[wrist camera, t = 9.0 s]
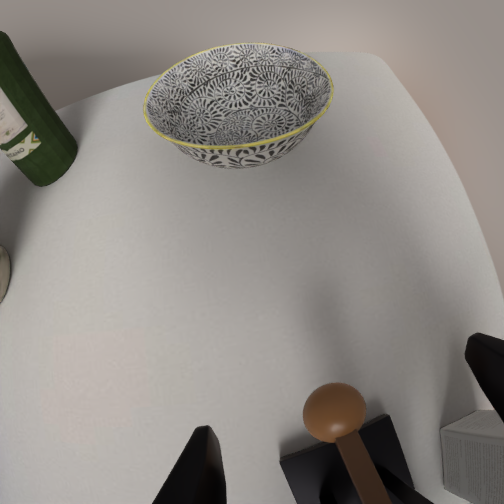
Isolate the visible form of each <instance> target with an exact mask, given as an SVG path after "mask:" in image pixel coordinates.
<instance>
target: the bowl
mask: <svg viewBox="0 0 504 504" xmlns="http://www.w3.org/2000/svg"><path fill="white" fill-rule="evenodd" d="M332 97H333V83H332V80H331V77H330V76H329V74H328V72H327V71H326V70H325V68H324V67H323V66H322V65H321V64H319V63H318V62H317V61H316V60H314V59H313V58H311V57H310V56H308V55H306V54H304V53H302V52H300V51H297V50H294V49H291V48H288V47H284V46H280V45H274V44H267V43H237V44H229V45H223V46H219V47H215V48H211V49H208V50H205V51H201V52H199V53H196V54H194V55H192V56H189V57H187V58H185V59H184V60H181V61H180V62H178V63H177V64H175V65H173V66H172V67H170V68H169V69H168V70H167V71H165V72H164V73H163V74H162V75H161V76H160V77H159V78H158V79H157V80H156V81H155V82H154V84H153V85H152V86H151V88H150V89H149V91H148V93H147V95H146V97H145V101H144V106H143V111H144V117H145V119H146V122H147V123H148V125H149V126H150V127H151V128H152V130H153V131H155V132H156V133H157V134H158V135H160V136H161V137H163V138H165V139H167V140H169V141H170V142H172V143H173V144H174V145H175V146H176V147H177V148H178V149H180V150H181V151H182V152H184V153H185V154H187V155H188V156H190V157H192V158H193V159H195V160H197V161H200V162H202V163H205V164H208V165H211V166H215V167H220V168H230V169H238V168H249V167H255V166H259V165H263V164H266V163H269V162H271V161H274V160H276V159H278V158H280V157H282V156H283V155H285V154H286V153H288V152H289V151H291V150H292V149H293V148H294V147H296V146H297V145H298V144H299V143H300V142H301V141H302V140H303V139H304V137H305V136H306V135H307V134H308V132H309V131H310V129H311V128H312V126H313V125H314V123H315V122H316V121H317V120H318V119H319V118H320V117H321V116H322V115H323V114H324V113H325V111H326V110H327V109H328V107H329V105H330V103H331V100H332Z"/></svg>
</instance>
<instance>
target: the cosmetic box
mask: <svg viewBox="0 0 504 504" xmlns="http://www.w3.org/2000/svg"><path fill="white" fill-rule="evenodd" d="M440 433H441V443H442V453H443V468H444V489H445V490H447V491H449V492H451V493H453V494H455V495H457V496H459V497H461V498H463V499H465V500H467V501H469V502H471V503H473V504H504V423H503V421H502V420H501V418H500V417H499V415H498V413H497V412H496V410H477V411H475V412H473V413H472V414H470V415H468V416H466V417H464V418H462V419H460V420H458V421H456V422H454V423H452V424H449V425H447V426H445V427H443V428H441V429H440Z"/></svg>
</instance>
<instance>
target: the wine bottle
mask: <svg viewBox="0 0 504 504" xmlns="http://www.w3.org/2000/svg"><path fill="white" fill-rule="evenodd" d="M77 148H78V147H77V143H76V141H75V139H74V138H73V136H72V135H71V134H70V132H69V131H68V129H67V128H66V126H65V125H64V124H63V122H62V121H61V119H60V118H59V116H58V115H57V113H56V112H55V110H54V109H53V108H52V106H51V105H50V103H49V102H48V100H47V99H46V97H45V95H44V94H43V92H42V91H41V89H40V88H39V86H38V85H37V83H36V81H35V80H34V78H33V77H32V75H31V73H30V72H29V70H28V69H27V67H26V65H25V64H24V62H23V61H22V59H21V57H20V56H19V54H18V52H17V50H16V49H15V47H14V45H13V43H12V42H11V40H10V38H9V37H8V35H7V34H6V33H4V32H2V31H0V149H1V150H2V151H3V152H4V153H5V154H6V155H7V156H8V158H9V159H10V160H11V161H12V162H13V163H14V164H15V165H16V166H17V167H18V168H19V169H20V170H21V171H22V172H23V173H24V175H25V176H26V177H27V178H28V179H29V180H30V181H31V182H32V183H33V184H34V185H37V186H41V187H42V186H47V185H49V184H51V183H53V182H55V181H56V180H57V179H59V178H60V177H61V176H62V175H63V174H64V173H65V172H66V171H67V170H68V169H69V167H70V166H71V164H72V163H73V161H74V159H75V157H76V154H77Z"/></svg>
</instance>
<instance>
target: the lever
mask: <svg viewBox="0 0 504 504" xmlns="http://www.w3.org/2000/svg"><path fill="white" fill-rule="evenodd" d="M365 417H366V404H365V401H364V398H363V396H362V395H361V393H360V392H359V391H358V390H357V389H355V388H354V387H352V386H351V385H348V384H345V383H339V382H336V383H329V384H325V385H323V386H321V387H319V388H317V389H316V390H315V391H314V392H313V393H312V394H311V395H310V396H309V397H308V399H307V400H306V402H305V405H304V409H303V421H304V424H305V427H306V429H307V430H308V431H309V433H310V434H311V435H312V436H314V437H315V438H317V439H318V440H321V441H324V442H329V443H335V444H336V446H337V448H338V450H339V452H340V455H341V457H342V459H343V461H344V464H345V466H346V468H347V470H348V473H349V475H350V477H351V479H352V482H353V484H354V486H355V488H356V491H357V493H358V495H359V497H360V499H361V502H362V504H392V502H391V500H390V498H389V495H388V493H387V491H386V489H385V487H384V485H383V483H382V481H381V479H380V477H379V475H378V472H377V470H376V468H375V466H374V464H373V462H372V460H371V458H370V456H369V454H368V452H367V450H366V448H365V446H364V444H363V442H362V440H361V437H360V435H359V433H358V431H359V429H360V428H361V426H362V425H363V423H364V420H365Z"/></svg>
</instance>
